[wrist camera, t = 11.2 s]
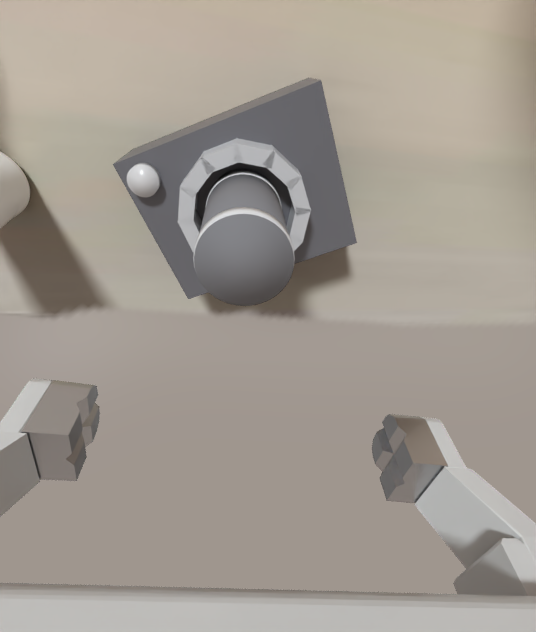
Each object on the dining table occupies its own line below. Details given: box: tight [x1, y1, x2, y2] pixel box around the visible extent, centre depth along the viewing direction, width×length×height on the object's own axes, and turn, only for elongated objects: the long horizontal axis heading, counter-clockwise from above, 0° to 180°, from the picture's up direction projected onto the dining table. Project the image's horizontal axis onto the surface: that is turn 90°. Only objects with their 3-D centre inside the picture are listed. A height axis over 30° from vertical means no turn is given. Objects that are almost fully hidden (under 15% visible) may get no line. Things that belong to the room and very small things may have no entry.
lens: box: [193, 169, 295, 306], centre depth 22 cm, size 5×5×9 cm
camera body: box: [113, 78, 357, 299], centre depth 27 cm, size 14×11×7 cm
